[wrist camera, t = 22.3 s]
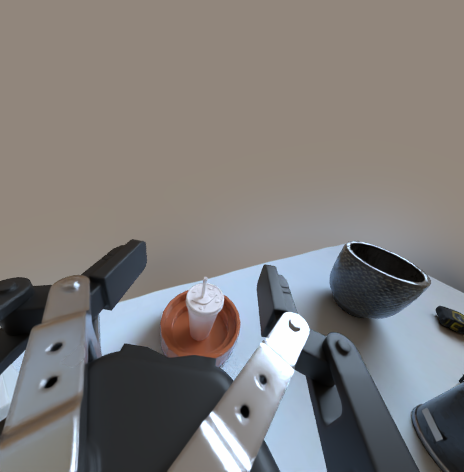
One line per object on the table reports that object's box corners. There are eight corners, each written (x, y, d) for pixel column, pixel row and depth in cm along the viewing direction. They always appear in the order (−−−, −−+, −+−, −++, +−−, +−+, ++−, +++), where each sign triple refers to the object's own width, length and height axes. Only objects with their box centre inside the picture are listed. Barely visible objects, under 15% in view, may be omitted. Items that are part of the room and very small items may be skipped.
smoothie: (178, 322, 34) (182, 267, 27) (209, 312, 37) (218, 261, 30) (188, 354, 29) (195, 298, 23) (221, 340, 32) (236, 287, 26)
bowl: (231, 303, 41) (234, 289, 39) (240, 373, 29) (246, 359, 27) (169, 301, 38) (169, 286, 36) (150, 377, 26) (149, 362, 24)
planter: (345, 279, 59) (372, 240, 51) (400, 326, 45) (448, 281, 37) (306, 284, 52) (330, 240, 45) (357, 340, 39) (404, 290, 31)
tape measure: (431, 310, 53) (440, 302, 51) (463, 326, 50) (474, 318, 48) (435, 324, 48) (445, 315, 47) (470, 342, 45) (483, 334, 43)
